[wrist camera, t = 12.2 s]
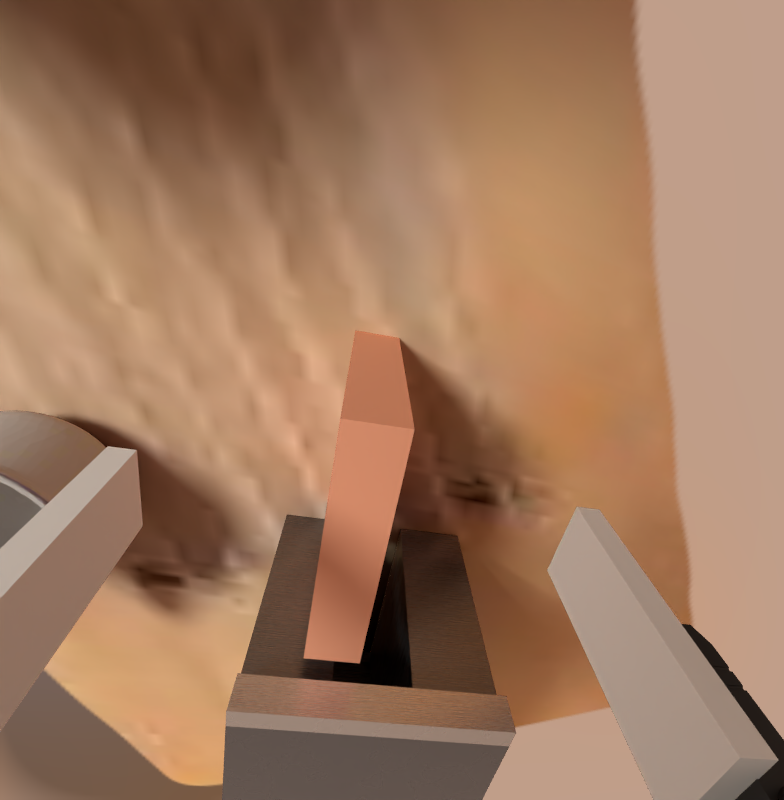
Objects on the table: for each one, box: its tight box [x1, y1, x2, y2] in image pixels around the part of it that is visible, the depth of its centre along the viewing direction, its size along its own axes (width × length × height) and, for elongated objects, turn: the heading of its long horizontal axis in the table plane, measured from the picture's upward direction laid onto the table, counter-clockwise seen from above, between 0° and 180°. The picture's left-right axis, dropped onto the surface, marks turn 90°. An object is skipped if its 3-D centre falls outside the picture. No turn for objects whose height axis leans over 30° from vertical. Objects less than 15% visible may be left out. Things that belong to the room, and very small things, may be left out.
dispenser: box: [222, 515, 516, 800], centre depth 27 cm, size 17×12×13 cm
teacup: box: [0, 411, 106, 548], centre depth 24 cm, size 14×11×8 cm
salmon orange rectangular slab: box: [304, 331, 415, 663], centre depth 22 cm, size 12×2×11 cm, turn 169°
